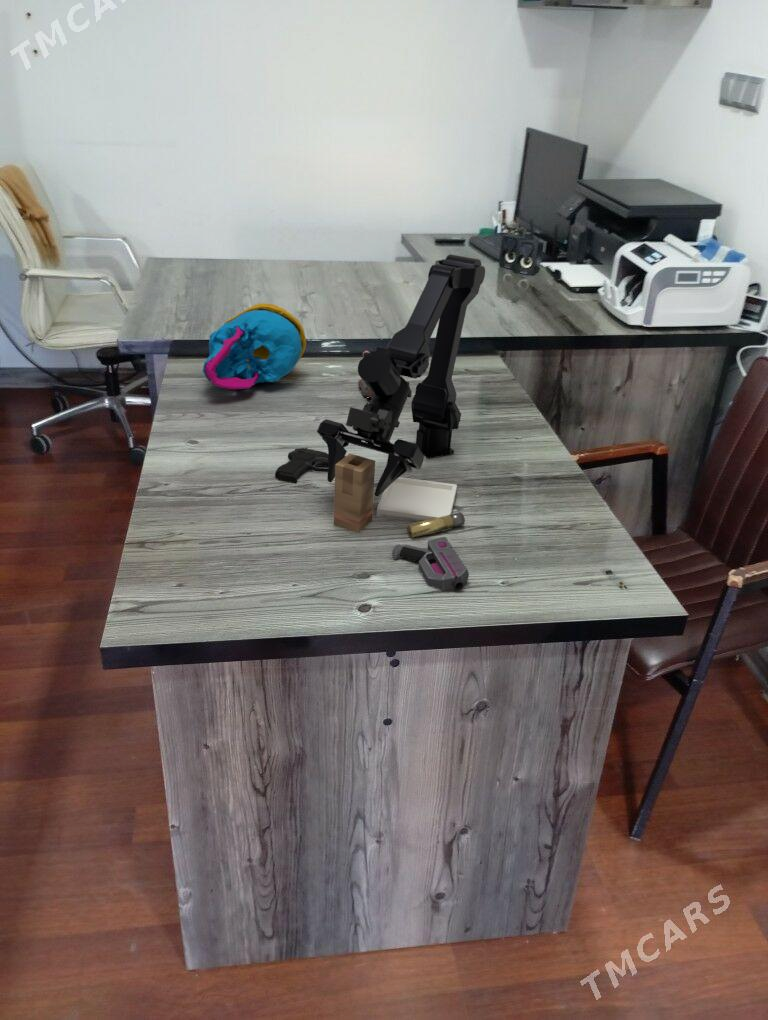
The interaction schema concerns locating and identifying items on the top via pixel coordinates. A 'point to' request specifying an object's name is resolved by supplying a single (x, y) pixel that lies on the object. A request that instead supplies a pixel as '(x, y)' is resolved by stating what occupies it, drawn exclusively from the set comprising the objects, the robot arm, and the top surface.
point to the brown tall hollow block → (354, 492)
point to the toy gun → (436, 563)
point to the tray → (416, 500)
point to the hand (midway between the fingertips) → (352, 488)
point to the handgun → (302, 464)
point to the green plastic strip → (613, 578)
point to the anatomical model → (254, 347)
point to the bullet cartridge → (435, 525)
